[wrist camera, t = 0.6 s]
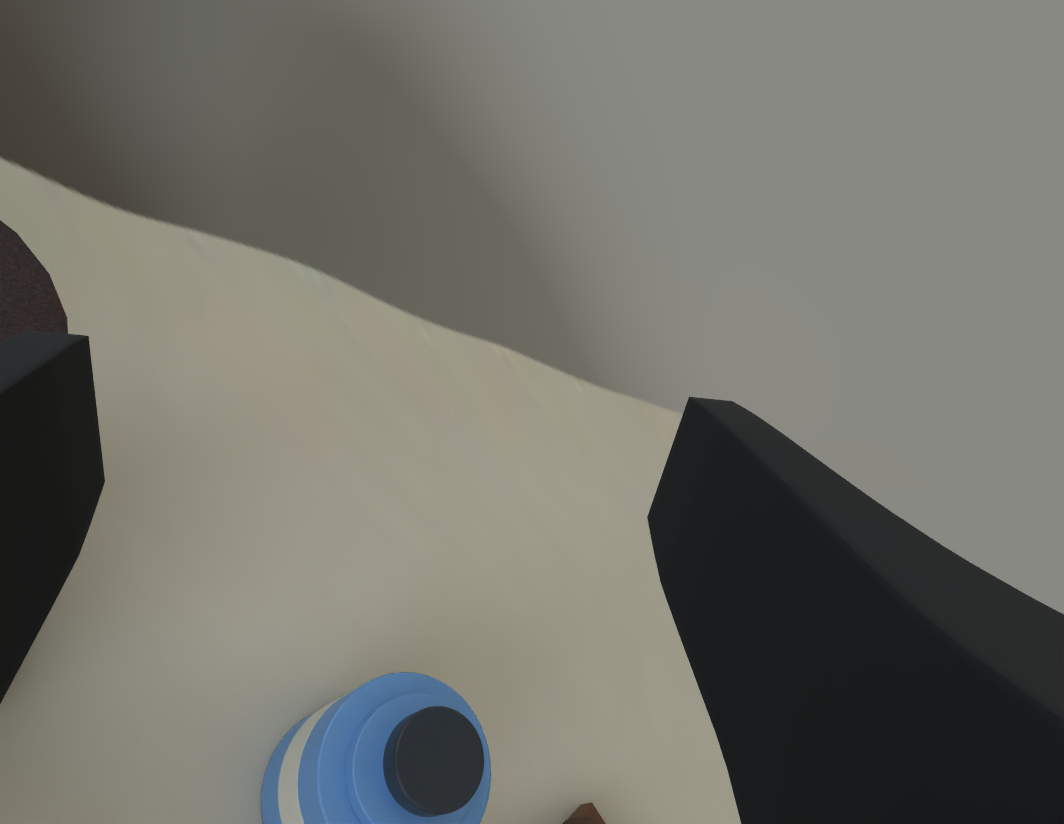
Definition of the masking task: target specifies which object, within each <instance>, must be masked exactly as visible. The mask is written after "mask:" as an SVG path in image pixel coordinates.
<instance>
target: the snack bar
mask: <svg viewBox="0 0 1064 824" xmlns="http://www.w3.org/2000/svg"><path fill="white" fill-rule="evenodd" d="M563 824H605V822H604V821H603V819H602V818H601V816H600V815H599V813H598V812H597V810H596V808H595V807H594V805H593V804H592V803H587V804H582V805H580V806H579V807H578V808H577V810H576V811H575V812H574V813H573V814H572V815H571V816H570V818H569V819H568V820H566V821H565V822H564V823H563Z"/></svg>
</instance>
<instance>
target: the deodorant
mask: <svg viewBox="0 0 1064 824" xmlns="http://www.w3.org/2000/svg"><path fill="white" fill-rule="evenodd" d="M27 330H34V331H44V332H54V333H64V334H68V328H67V317H66V314H65V312H64V309H63V307H62V304H61V302H60V299H59V297H58V294H57V292H56V290H55V287H54V285H53V282H52V280H51V277H50V275H49V273H48V272H47V271H46V269H45V268H44V267H43V265H42V264H41V263H40V262H39V260H38V259H37V258H36V257H35V255H34V254H33V253H32V252H31V250H30V249H29V248H28V247H27V245H26V244H25V243H24V242H23V240H22V239H21V238H20V237H19V235H18V234H17V233H16V232H15V231H13V230H12V229H11V228H9V227H8V226H7V225H6V224H4V223H3V222H2V221H0V340H2V339H5V338H7V337H10V336H12V335H15V334H18V333H21V332H24V331H27Z"/></svg>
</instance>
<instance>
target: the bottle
mask: <svg viewBox="0 0 1064 824" xmlns="http://www.w3.org/2000/svg"><path fill="white" fill-rule="evenodd" d="M490 781H491V764H490V756H489V749H488V745H487V742H486V738H485V735H484V732H483V730H482V727H481V725H480V723H479V721H478V719H477V717H476V715H475V714H474V712H473V711H472V709H471V708H470V706H469V705H468V704H467V703H466V702H465V700H464V699H463V698H462V697H461V696H460V695H459V694H458V693H456V692H455V691H454V690H453V689H452V688H450V687H449V686H447V685H446V684H444V683H442V682H441V681H439V680H437V679H435V678H432V677H429V676H426V675H423V674H418V673H409V672H400V673H391V674H387V675H383V676H380V677H378V678H375V679H373V680H370V681H369V682H367V683H365V684H363V685H362V686H360V687H358V688H356V689H354V690H352V691H350V692H348V693H346V694H345V695H343V696H341V697H339V698H338V699H336V700H334V701H332V702H331V703H329V704H327V705H325V706H324V707H322V708H321V709H319V710H318V711H316V712H315V713H313V714H311V715H309V716H308V717H306V718H304V719H303V720H301V721H300V722H299V723H297V724H296V725H295V726H294V727H293V728H292V729H291V730H290V731H289V732H288V733H287V734H286V735H285V736H284V738H283V739H282V740H281V741H280V743H279V744H278V746H277V748H276V749H275V751H274V753H273V755H272V757H271V759H270V761H269V763H268V766H267V769H266V772H265V776H264V781H263V785H262V795H261V808H262V817H263V823H264V824H480V822H481V819H482V817H483V814H484V812H485V808H486V805H487V801H488V797H489V791H490Z"/></svg>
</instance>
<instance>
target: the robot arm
mask: <svg viewBox="0 0 1064 824" xmlns="http://www.w3.org/2000/svg"><path fill="white" fill-rule="evenodd" d="M104 482H105V478H104V469H103V461H102V452H101V443H100V434H99V425H98V417H97V408H96V399H95V390H94V381H93V373H92V364H91V355H90V346H89V337H88V336H83V335H73V334H64V333H54V332H44V331H34V330H27V331H24V332H21V333H18V334H15V335H12V336H10V337H7V338H5V339H2V340H0V703H1V701H2V699H3V698H4V696H5V694H6V692H7V690H8V688H9V686H10V685H11V683H12V681H13V679H14V677H15V675H16V673H17V671H18V670H19V668H20V666H21V664H22V662H23V660H24V658H25V656H26V655H27V653H28V651H29V649H30V647H31V645H32V643H33V642H34V640H35V638H36V636H37V634H38V632H39V630H40V628H41V627H42V625H43V623H44V621H45V619H46V617H47V615H48V614H49V612H50V610H51V608H52V606H53V604H54V602H55V600H56V598H57V596H58V594H59V593H60V591H61V589H62V587H63V585H64V583H65V581H66V579H67V577H68V575H69V573H70V571H71V570H72V568H73V566H74V564H75V562H76V560H77V558H78V556H79V553H80V551H81V548H82V545H83V543H84V540H85V537H86V534H87V532H88V529H89V526H90V524H91V521H92V518H93V515H94V512H95V509H96V506H97V503H98V500H99V497H100V494H101V491H102V488H103V485H104ZM647 518H648V523H649V528H650V534H651V539H652V544H653V549H654V554H655V559H656V563H657V568H658V572H659V576H660V581H661V584H662V587H663V590H664V593H665V596H666V599H667V602H668V605H669V607H670V610H671V613H672V616H673V619H674V621H675V624H676V627H677V630H678V632H679V635H680V638H681V641H682V643H683V646H684V649H685V651H686V654H687V657H688V659H689V662H690V665H691V668H692V670H693V673H694V676H695V678H696V681H697V684H698V686H699V689H700V692H701V694H702V697H703V700H704V703H705V705H706V708H707V711H708V713H709V716H710V719H711V721H712V724H713V727H714V730H715V732H716V735H717V738H718V741H719V744H720V748H721V751H722V754H723V757H724V760H725V763H726V766H727V769H728V773H729V777H730V781H731V785H732V789H733V793H734V797H735V800H736V804H737V808H738V812H739V816H740V820H741V824H1064V615H1063V614H1062V613H1060V612H1058V611H1056V610H1054V609H1052V608H1050V607H1048V606H1046V605H1044V604H1043V603H1041V602H1039V601H1037V600H1035V599H1033V598H1031V597H1029V596H1028V595H1026V594H1024V593H1022V592H1021V591H1019V590H1017V589H1015V588H1014V587H1012V586H1010V585H1008V584H1007V583H1005V582H1003V581H1001V580H1000V579H998V578H996V577H994V576H992V575H990V574H989V573H987V572H986V571H984V570H982V569H980V568H979V567H977V566H975V565H973V564H972V563H970V562H968V561H967V560H965V559H963V558H962V557H960V556H959V555H957V554H955V553H954V552H952V551H950V550H949V549H947V548H945V547H944V546H942V545H941V544H939V543H938V542H936V541H935V540H933V539H931V538H930V537H928V536H927V535H925V534H924V533H922V532H921V531H919V530H918V529H916V528H915V527H913V526H912V525H910V524H909V523H907V522H906V521H904V520H903V519H901V518H900V517H898V516H897V515H895V514H894V513H892V512H891V511H889V510H888V509H886V508H885V507H883V506H882V505H881V504H879V503H878V502H876V501H875V500H873V499H872V498H870V497H869V496H867V495H866V494H865V493H863V492H862V491H861V490H859V489H858V488H856V487H855V486H854V485H852V484H851V483H849V482H848V481H847V480H845V479H844V478H843V477H841V476H840V475H838V474H837V473H836V472H834V471H833V470H831V469H830V468H829V467H827V466H826V465H825V464H823V463H822V462H821V461H819V460H818V459H816V458H815V457H814V456H812V455H811V454H810V453H808V452H807V451H806V450H804V449H803V448H801V447H800V446H799V445H797V444H796V443H795V442H793V441H792V440H790V439H789V438H788V437H786V436H785V435H784V434H782V433H781V432H779V431H778V430H776V429H775V428H774V427H772V426H771V425H769V424H768V423H766V422H765V421H764V420H762V419H761V418H759V417H758V416H756V415H755V414H753V413H752V412H750V411H748V410H747V409H745V408H743V407H742V406H740V405H738V404H736V403H734V402H732V401H724V400H714V399H704V398H695V397H689V399H688V402H687V405H686V407H685V410H684V413H683V416H682V419H681V422H680V425H679V428H678V430H677V433H676V436H675V439H674V442H673V445H672V448H671V451H670V453H669V456H668V459H667V462H666V465H665V468H664V471H663V474H662V477H661V479H660V482H659V485H658V488H657V491H656V494H655V497H654V500H653V502H652V505H651V508H650V511H649V514H648V517H647Z"/></svg>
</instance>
